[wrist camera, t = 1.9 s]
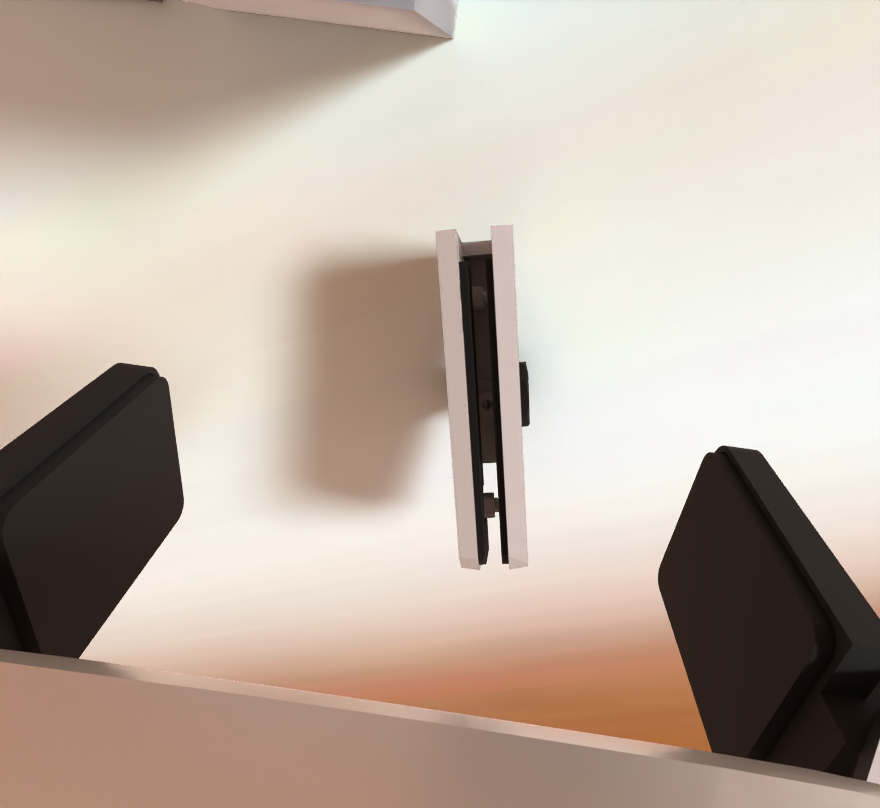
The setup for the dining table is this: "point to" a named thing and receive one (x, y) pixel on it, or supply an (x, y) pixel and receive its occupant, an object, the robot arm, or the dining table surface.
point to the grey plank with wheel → (484, 391)
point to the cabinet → (357, 13)
